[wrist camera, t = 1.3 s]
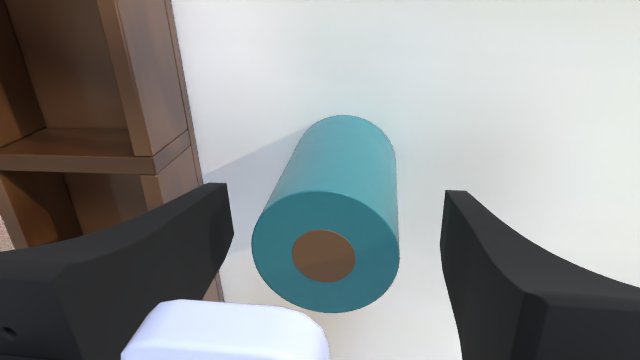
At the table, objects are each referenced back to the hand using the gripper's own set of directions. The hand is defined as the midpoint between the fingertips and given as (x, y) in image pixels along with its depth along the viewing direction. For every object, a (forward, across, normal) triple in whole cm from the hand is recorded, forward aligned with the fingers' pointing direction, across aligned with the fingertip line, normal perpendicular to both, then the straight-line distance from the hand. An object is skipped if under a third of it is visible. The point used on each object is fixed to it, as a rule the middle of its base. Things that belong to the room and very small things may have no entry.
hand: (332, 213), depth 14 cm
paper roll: (+4, 0, 0) cm, 4 cm away
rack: (+4, +10, +2) cm, 11 cm away
